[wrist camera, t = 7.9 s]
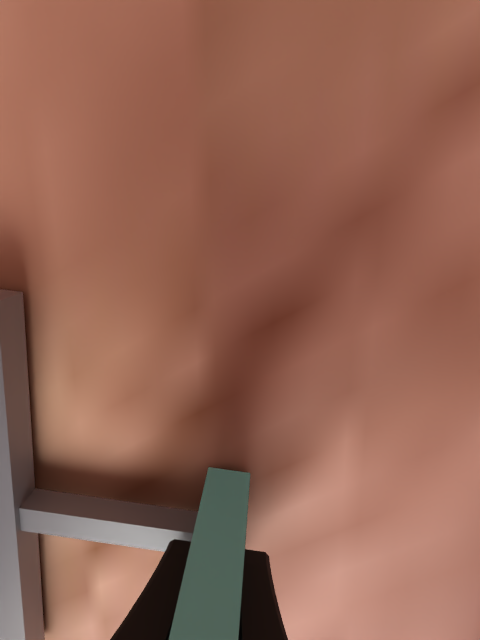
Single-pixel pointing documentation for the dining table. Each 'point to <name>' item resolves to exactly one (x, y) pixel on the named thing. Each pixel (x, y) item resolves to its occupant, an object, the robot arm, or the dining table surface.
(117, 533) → the frame with teal handle
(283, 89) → the dining table surface
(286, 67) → the dining table surface
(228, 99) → the dining table surface
